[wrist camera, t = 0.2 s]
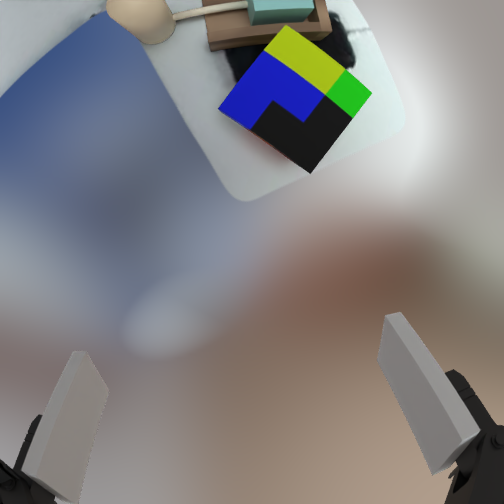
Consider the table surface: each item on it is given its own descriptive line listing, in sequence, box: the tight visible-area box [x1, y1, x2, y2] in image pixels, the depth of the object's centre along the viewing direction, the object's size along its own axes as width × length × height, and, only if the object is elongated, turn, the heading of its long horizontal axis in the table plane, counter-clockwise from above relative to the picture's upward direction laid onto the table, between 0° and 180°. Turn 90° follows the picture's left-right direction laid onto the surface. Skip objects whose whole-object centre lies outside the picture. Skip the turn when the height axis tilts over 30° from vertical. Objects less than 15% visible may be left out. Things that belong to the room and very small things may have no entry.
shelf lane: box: [202, 0, 332, 52], centre depth 25 cm, size 10×13×4 cm
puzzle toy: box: [218, 25, 372, 174], centre depth 28 cm, size 10×10×10 cm
